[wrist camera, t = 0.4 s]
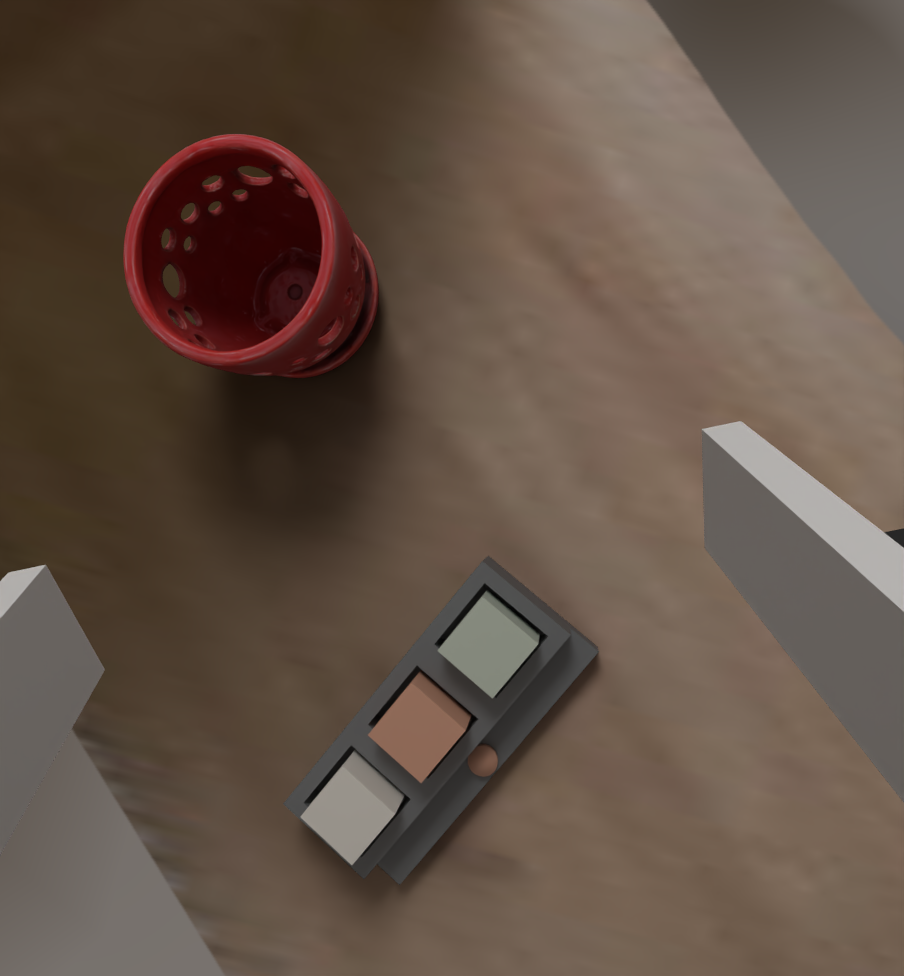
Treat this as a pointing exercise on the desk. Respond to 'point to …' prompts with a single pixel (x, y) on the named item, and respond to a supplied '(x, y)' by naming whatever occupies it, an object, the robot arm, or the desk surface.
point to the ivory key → (353, 807)
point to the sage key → (490, 644)
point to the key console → (486, 735)
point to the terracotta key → (421, 726)
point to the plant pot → (250, 262)
